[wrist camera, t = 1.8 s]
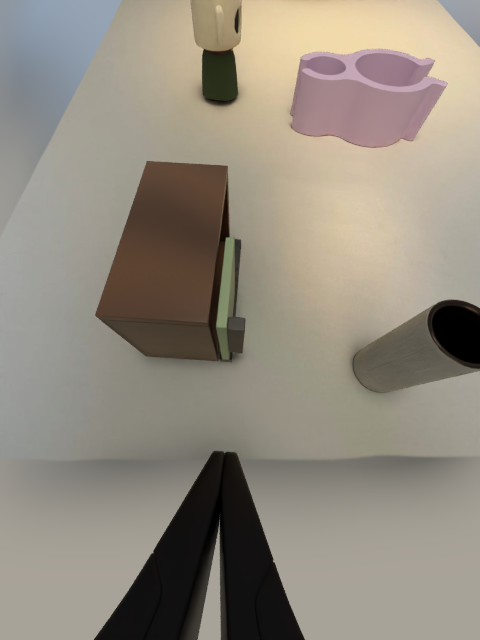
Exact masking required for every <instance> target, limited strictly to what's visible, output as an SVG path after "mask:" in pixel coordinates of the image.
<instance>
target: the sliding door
mask: <svg viewBox="0 0 480 640" xmlns="http://www.w3.org/2000/svg"><path fill="white" fill-rule="evenodd" d="M234 296H235V238H228V237H226V240H225V249H224V258H223V268H222V277H221V286H220V295H219V304H218V313H217V322H216V330H217V335H218V340H219V345H220V351H221V356H222V359H223V360H229V357H230V352H235V353H242V352H243V342H244V332H245V318H240V317H233V308H234Z"/></svg>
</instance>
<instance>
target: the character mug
mask: <svg viewBox="0 0 480 640" xmlns="http://www.w3.org/2000/svg"><path fill="white" fill-rule="evenodd" d="M241 1H242V0H191V9H192V19H193V29H194V37H195V42H196V44H197V45H198V46H199V47H201V48H203V49H204V51H203V55H202V88H203V95H204V96H205V97H206V98H209V99H214V100H220V101H222V100H229V101H230V100H232V99H234V98H236V96H237V95H238V88H237V74H236V64H235V56H234V53H233V48H234V47H235V46H237V45H238V44H239V43H240V40H241Z"/></svg>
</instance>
